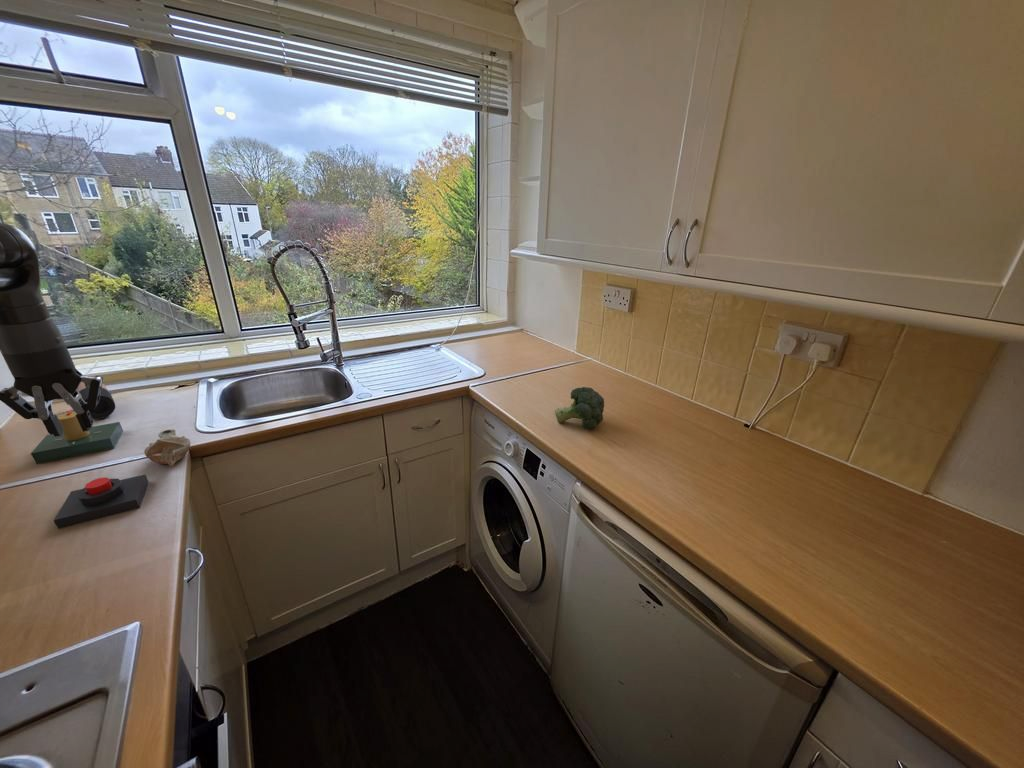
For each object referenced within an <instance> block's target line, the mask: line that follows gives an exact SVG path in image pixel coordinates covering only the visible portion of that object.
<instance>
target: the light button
mask: <svg viewBox="0 0 1024 768" xmlns="http://www.w3.org/2000/svg"><path fill="white" fill-rule="evenodd" d="M110 479H111V478H110V477H106V476H105V477H99V478H95V479H93V480H91V481H89V482H87V483H85V485H84V488H86V490H87V492H88V494H89V495H94V494H99V493H102V492H104V491H106V490H109V489H110V488H111V487H112V484H111V481H110Z"/></svg>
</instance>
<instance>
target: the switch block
mask: <svg viewBox="0 0 1024 768" xmlns="http://www.w3.org/2000/svg"><path fill="white" fill-rule="evenodd" d="M109 479H110V481H111V484H112V487H111V488H110V489H109V490H106V491H104V492H102V493H99V494H94V495H89V494H88V492H87V490H86V488H85V487H82V488H80V489H75V490H71V491H70V492H69V494H68V496H67V498H66V499H65V501H64V502H63V503H62V505H61V506H60V509H59V511H58V512H57V514H56V515H55V517H54V519H53V522H54V524H55V527H56V528H57V530H60V529H65V528H68V527H73V526H75V525H79V524H84V523H88V522H91V521H95V520H98V519H99V520H100V519H103V518H106V517H110V516H115V515H118V514H123V513H126V512H130V511H135V510H137V509H140V508H141V505H142V502H143V500H144V497H145V494H146V491H147V488H148V485H149V483H150V482H149V479H148V477H147V475H146V473H145V474H140V475H137V476H132V477H126V478H123V479H119V478H109Z"/></svg>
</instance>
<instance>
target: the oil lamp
mask: <svg viewBox="0 0 1024 768" xmlns="http://www.w3.org/2000/svg"><path fill="white" fill-rule="evenodd" d="M158 437H159V439H157V440H156V441H155V442H150V443H149V444H148V446H147V447H145V449H144V451H143V452H144V456H145V457H146V458H147V459H149V460H150V461H152V462H154V463H156V464H160V465H168V466H169V467H173V466H174V465H175V463H176V462H179V461H180V460H182V459H183V458H184V457H185V456H186V455H187V453H188V452H189V451H190V448H191V440H190V439H189V438H188V437H185V435H182V436H177V434H176V429H166V430H163V431H160V432H159V433H158Z"/></svg>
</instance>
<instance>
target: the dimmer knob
mask: <svg viewBox="0 0 1024 768" xmlns="http://www.w3.org/2000/svg"><path fill="white" fill-rule="evenodd" d="M76 414H77V413H76V412H75V411H74V410H73V411H72V410H68V412H65V413H61V414H59V415H57V417H58V419H59V422H60V424H61V426H62V428H63V430H64V433H63V435H64V437H65V439H66V440H68V441H72V440H78V439H81V438H84V437H86V436H88V435H89V434H90V432H89V431H84V432H83V430H82V428H81V426H80V424H79V422H78V420H77V417H76Z"/></svg>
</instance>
